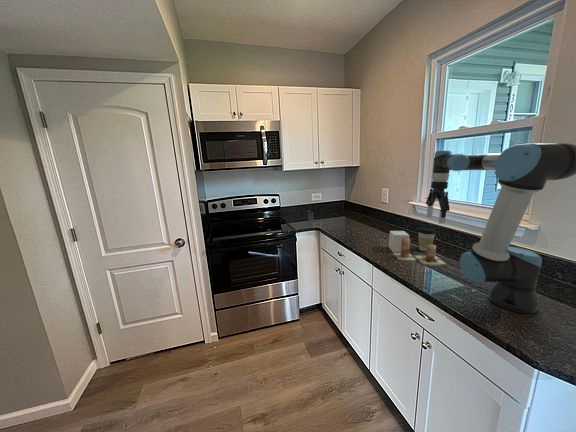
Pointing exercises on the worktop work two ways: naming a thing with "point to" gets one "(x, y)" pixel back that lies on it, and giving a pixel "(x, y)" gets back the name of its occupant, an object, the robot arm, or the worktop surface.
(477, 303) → the worktop surface
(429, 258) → the peg
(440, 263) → the socket board
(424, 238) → the coffee cup
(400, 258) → the wooden post on base
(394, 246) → the block
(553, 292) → the worktop surface
